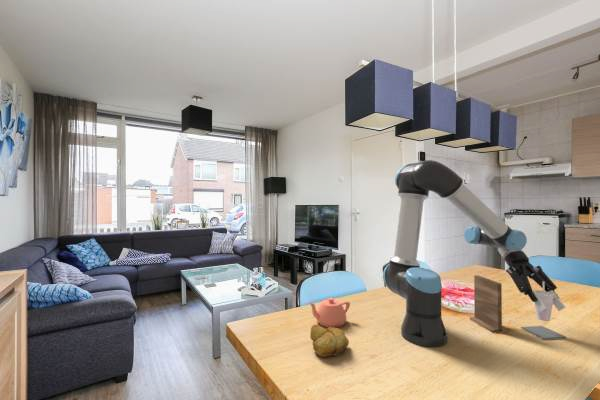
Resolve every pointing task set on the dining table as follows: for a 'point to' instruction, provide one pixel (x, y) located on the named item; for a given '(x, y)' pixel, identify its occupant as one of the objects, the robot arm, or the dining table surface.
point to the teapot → (330, 312)
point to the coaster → (543, 332)
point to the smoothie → (548, 301)
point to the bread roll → (328, 340)
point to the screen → (488, 304)
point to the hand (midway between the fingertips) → (553, 309)
